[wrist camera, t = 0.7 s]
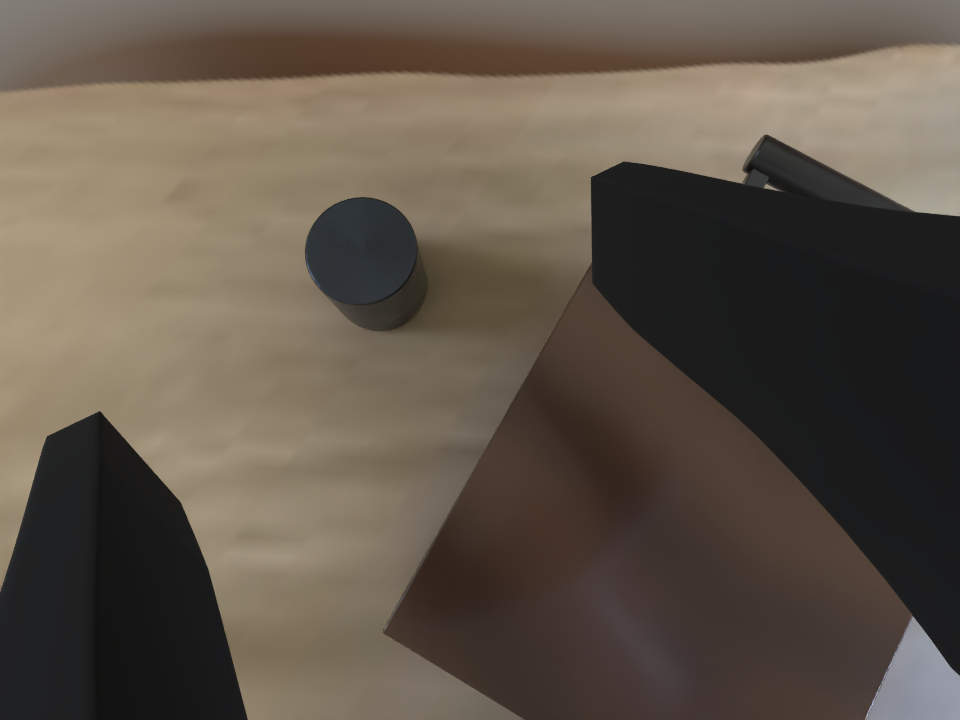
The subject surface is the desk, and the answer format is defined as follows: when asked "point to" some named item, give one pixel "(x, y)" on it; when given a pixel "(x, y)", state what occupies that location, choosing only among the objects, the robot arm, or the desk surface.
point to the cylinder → (367, 262)
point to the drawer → (807, 176)
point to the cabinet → (644, 556)
